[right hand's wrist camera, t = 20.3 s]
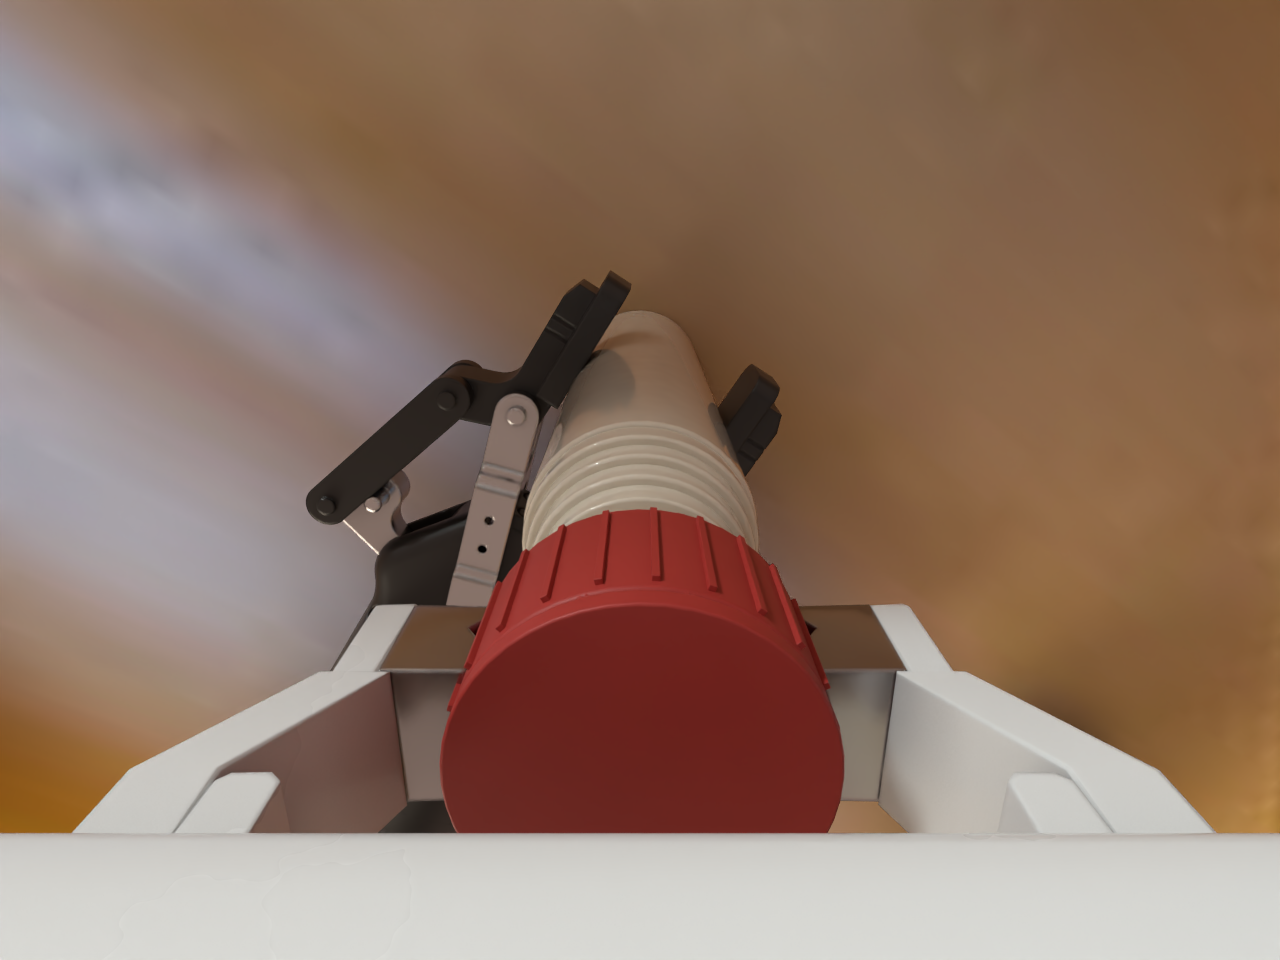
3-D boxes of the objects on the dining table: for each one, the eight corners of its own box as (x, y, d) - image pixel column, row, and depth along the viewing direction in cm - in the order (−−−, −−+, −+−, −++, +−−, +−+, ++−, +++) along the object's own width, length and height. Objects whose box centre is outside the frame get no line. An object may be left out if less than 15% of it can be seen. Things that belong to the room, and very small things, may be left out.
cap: (593, 826, 11) (580, 988, 9) (415, 605, 10) (346, 724, 7) (858, 697, 10) (918, 838, 8) (700, 440, 9) (719, 518, 7)
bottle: (694, 305, 27) (836, 554, 8) (699, 421, 28) (832, 877, 9) (575, 314, 27) (419, 582, 8) (587, 428, 28) (478, 896, 9)
